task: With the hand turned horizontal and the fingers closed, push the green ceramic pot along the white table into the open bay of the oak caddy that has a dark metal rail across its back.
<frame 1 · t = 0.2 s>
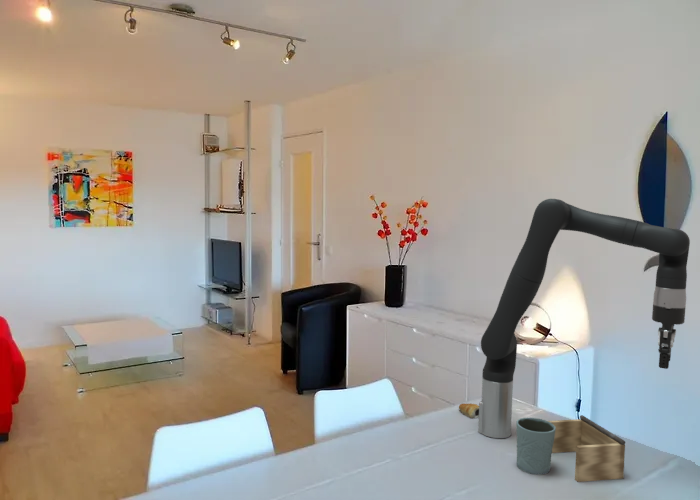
hand: (664, 364, 151), 29 cm above the table, tool pointing down, fingers open, 8 cm apart
green ceramic pot: (533, 468, 153), on the table
oak caddy: (577, 464, 155), on the table
pastry: (471, 415, 193), on the table
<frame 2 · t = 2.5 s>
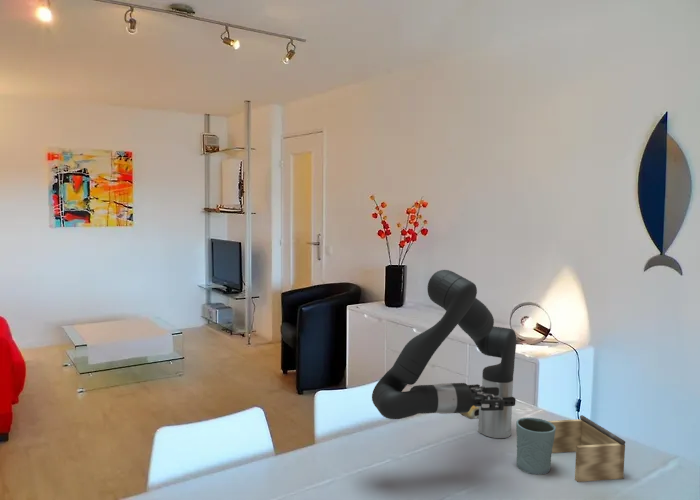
hand: (506, 396, 149), 20 cm above the table, tool horizontal, fingers open, 8 cm apart
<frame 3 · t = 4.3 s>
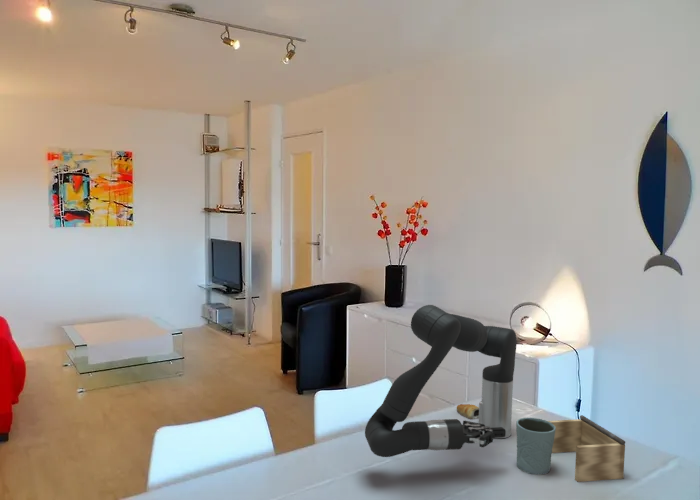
hand: (504, 432, 150), 10 cm above the table, tool horizontal, fingers closed
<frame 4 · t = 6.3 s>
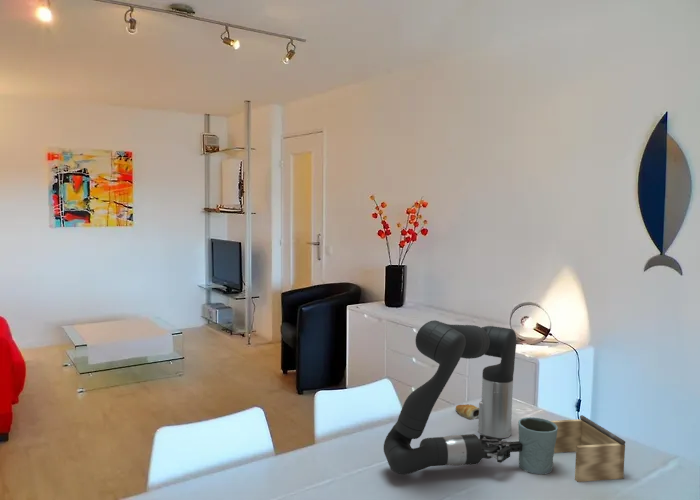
hand: (520, 446, 152), 6 cm above the table, tool horizontal, fingers closed
green ceramic pot: (536, 468, 153), on the table, touching gripper
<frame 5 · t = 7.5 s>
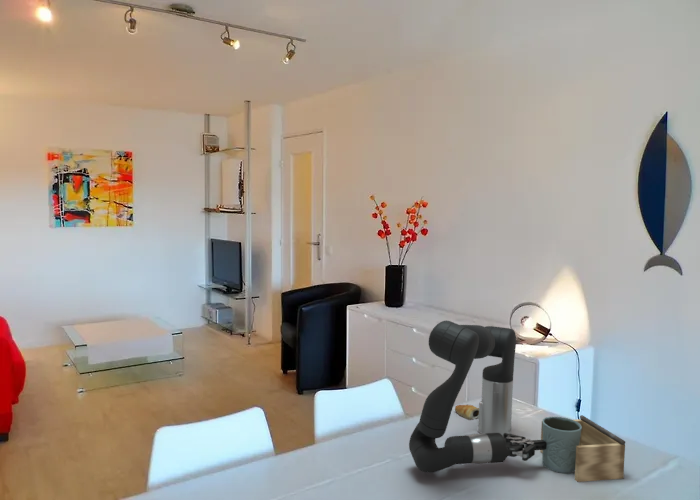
hand: (544, 444, 153), 6 cm above the table, tool horizontal, fingers closed
green ceramic pot: (559, 466, 154), on the table, touching gripper
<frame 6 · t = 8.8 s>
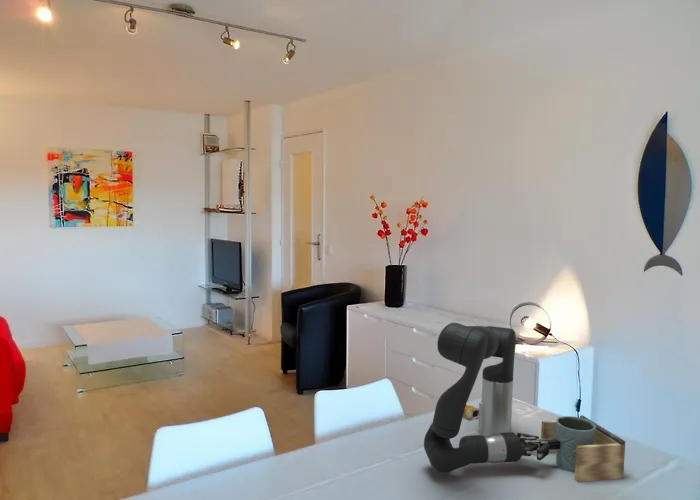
hand: (558, 444, 153), 6 cm above the table, tool horizontal, fingers closed
green ceramic pot: (573, 466, 154), on the table, touching gripper
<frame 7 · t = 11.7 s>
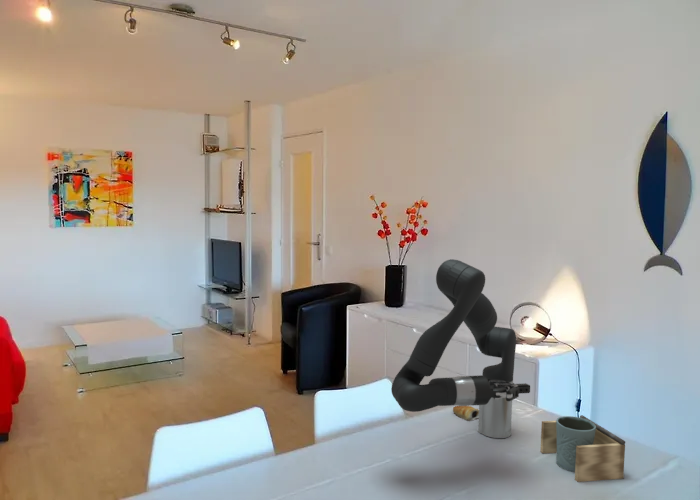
hand: (528, 388, 151), 22 cm above the table, tool horizontal, fingers closed
green ceramic pot: (573, 466, 154), on the table
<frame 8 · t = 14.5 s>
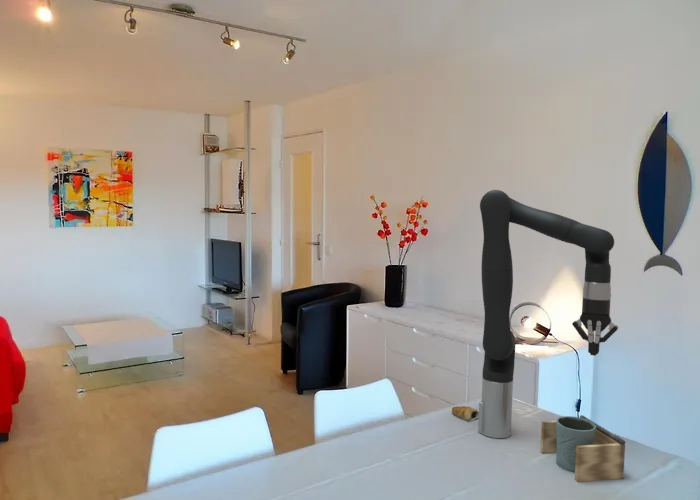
hand: (593, 354, 168), 27 cm above the table, tool pointing down, fingers closed
at the end: green ceramic pot 1.5 cm from the oak caddy (horizontally); green ceramic pot tilted 0°; green ceramic pot moved 11.6 cm from its start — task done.
